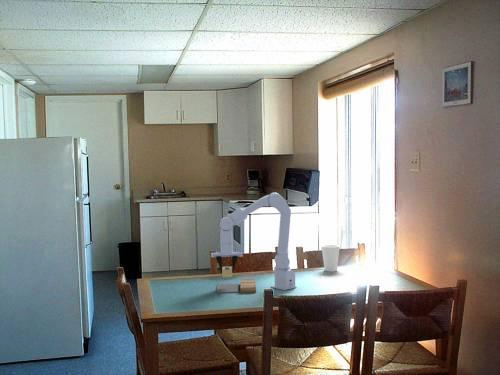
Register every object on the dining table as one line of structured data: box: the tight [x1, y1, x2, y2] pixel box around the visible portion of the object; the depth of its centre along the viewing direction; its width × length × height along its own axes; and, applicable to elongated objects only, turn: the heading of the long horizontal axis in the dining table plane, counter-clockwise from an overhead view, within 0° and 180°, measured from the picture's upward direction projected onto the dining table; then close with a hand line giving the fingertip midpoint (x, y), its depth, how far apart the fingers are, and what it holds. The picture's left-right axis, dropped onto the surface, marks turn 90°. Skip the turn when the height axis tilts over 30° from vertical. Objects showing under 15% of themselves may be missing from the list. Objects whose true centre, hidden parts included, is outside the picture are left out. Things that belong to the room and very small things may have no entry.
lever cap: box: [221, 265, 233, 278], centre depth 272 cm, size 7×4×4 cm, turn 2°
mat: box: [215, 283, 240, 294], centre depth 272 cm, size 16×10×1 cm, turn 1°
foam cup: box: [321, 243, 341, 272], centre depth 309 cm, size 10×9×13 cm
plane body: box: [239, 278, 257, 294], centre depth 272 cm, size 18×7×2 cm, turn 1°
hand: (227, 272), depth 272 cm, fingers closed on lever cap, 4 cm apart
